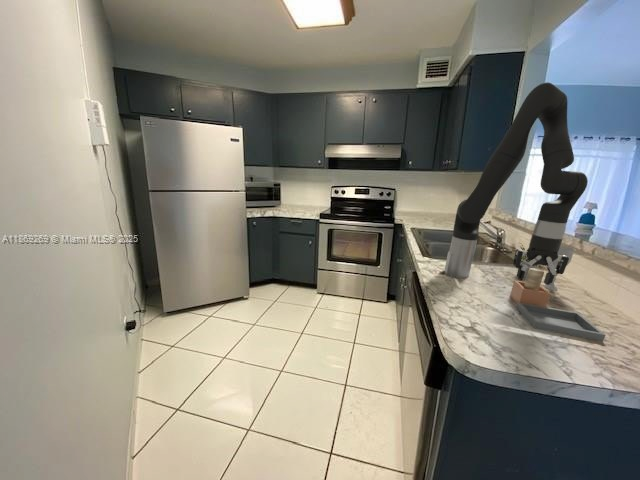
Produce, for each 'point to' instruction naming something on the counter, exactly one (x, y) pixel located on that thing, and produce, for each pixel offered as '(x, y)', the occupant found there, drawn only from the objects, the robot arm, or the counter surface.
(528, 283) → the peg
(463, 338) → the counter surface
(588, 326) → the tray
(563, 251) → the chalice
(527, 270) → the house plant
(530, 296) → the terracotta open box
